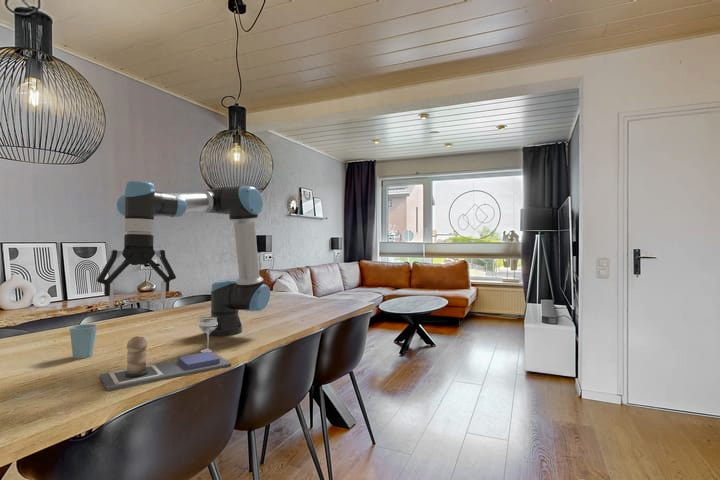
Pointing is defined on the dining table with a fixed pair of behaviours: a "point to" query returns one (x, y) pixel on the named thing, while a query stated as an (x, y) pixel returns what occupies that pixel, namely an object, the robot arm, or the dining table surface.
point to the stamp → (136, 357)
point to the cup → (83, 340)
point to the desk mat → (166, 370)
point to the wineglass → (208, 328)
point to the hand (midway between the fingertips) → (137, 305)
